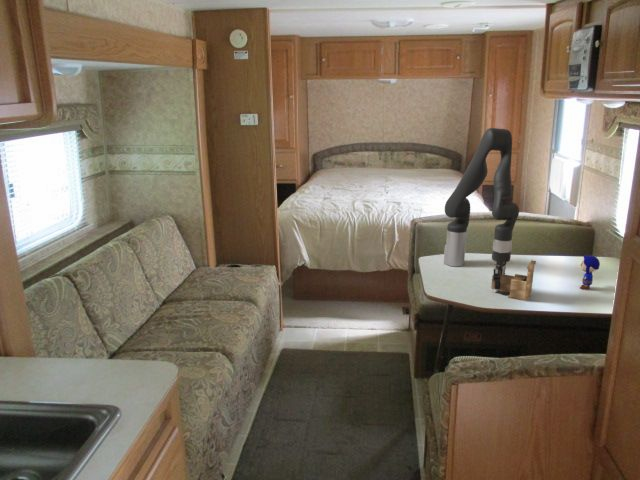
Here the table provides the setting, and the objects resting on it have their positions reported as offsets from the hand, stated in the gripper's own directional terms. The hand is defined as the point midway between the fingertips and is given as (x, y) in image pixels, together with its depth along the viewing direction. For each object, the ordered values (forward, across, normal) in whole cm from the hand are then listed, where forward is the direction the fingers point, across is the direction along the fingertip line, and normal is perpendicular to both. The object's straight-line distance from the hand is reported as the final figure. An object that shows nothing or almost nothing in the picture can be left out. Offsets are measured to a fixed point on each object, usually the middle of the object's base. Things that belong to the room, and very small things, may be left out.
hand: (498, 287), depth 234 cm
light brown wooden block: (+1, 0, +4) cm, 4 cm away
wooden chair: (+2, 0, +9) cm, 9 cm away
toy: (+2, -23, +33) cm, 40 cm away
